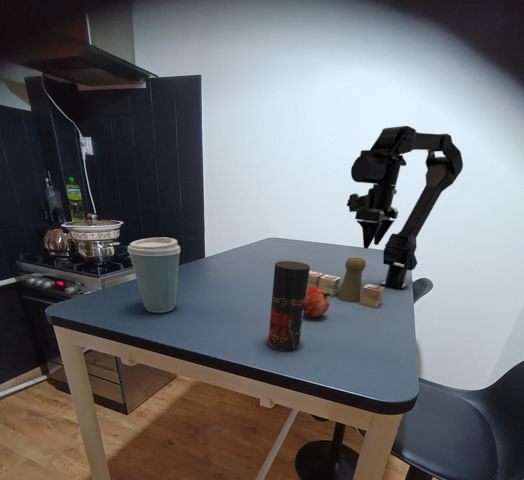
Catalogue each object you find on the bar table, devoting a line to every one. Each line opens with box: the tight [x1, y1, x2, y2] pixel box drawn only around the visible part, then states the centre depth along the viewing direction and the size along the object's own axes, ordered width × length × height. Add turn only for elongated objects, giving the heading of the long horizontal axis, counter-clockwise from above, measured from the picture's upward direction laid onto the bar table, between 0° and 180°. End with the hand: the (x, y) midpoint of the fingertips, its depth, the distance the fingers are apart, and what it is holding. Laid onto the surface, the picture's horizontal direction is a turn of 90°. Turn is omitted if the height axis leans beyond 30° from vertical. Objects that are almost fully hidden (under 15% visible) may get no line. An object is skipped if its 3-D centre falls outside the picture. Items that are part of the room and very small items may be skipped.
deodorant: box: [267, 260, 311, 352], centre depth 57 cm, size 6×6×15 cm
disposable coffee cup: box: [127, 236, 182, 314], centre depth 69 cm, size 11×11×15 cm
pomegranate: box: [303, 286, 333, 319], centre depth 73 cm, size 7×7×10 cm
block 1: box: [307, 270, 324, 287], centre depth 93 cm, size 4×4×5 cm
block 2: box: [318, 274, 342, 297], centre depth 91 cm, size 4×4×5 cm
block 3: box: [359, 283, 386, 308], centre depth 85 cm, size 4×4×5 cm
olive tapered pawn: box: [337, 256, 367, 302], centre depth 86 cm, size 6×6×11 cm
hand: (371, 246), depth 90 cm, fingers open, 9 cm apart
